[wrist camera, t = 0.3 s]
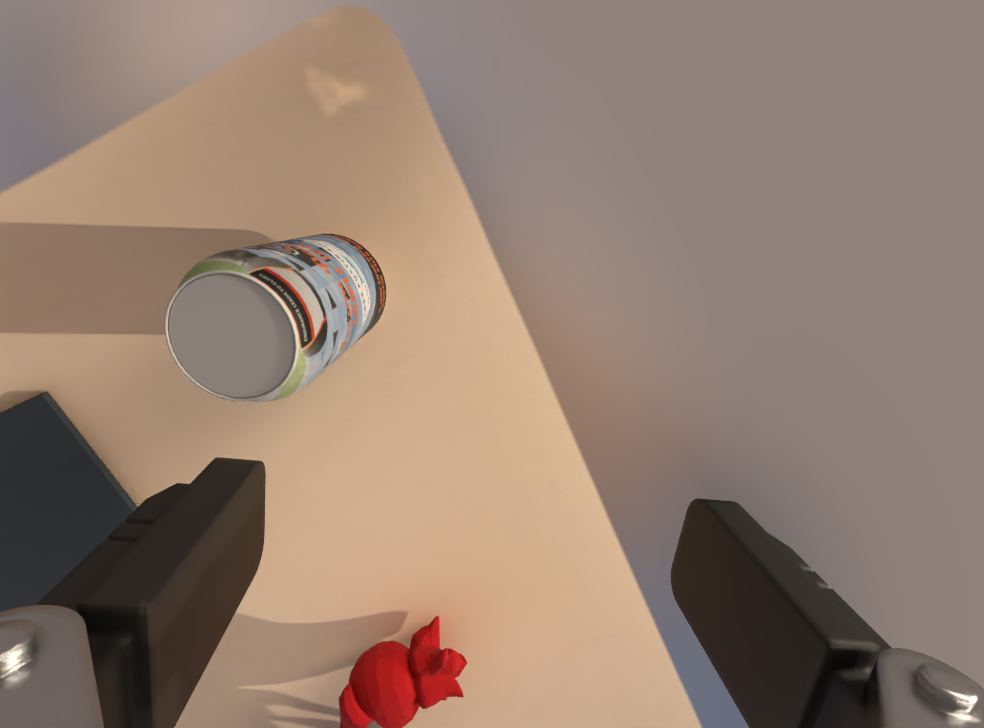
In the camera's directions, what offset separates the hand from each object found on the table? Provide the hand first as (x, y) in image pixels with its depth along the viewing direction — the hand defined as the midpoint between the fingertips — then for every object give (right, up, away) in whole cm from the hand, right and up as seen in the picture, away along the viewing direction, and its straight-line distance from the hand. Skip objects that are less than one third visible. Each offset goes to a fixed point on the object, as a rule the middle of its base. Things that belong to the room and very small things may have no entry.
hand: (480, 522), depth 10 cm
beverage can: (-9, +7, +20) cm, 24 cm away
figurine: (-7, -21, +29) cm, 36 cm away
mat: (-28, -6, +22) cm, 37 cm away
